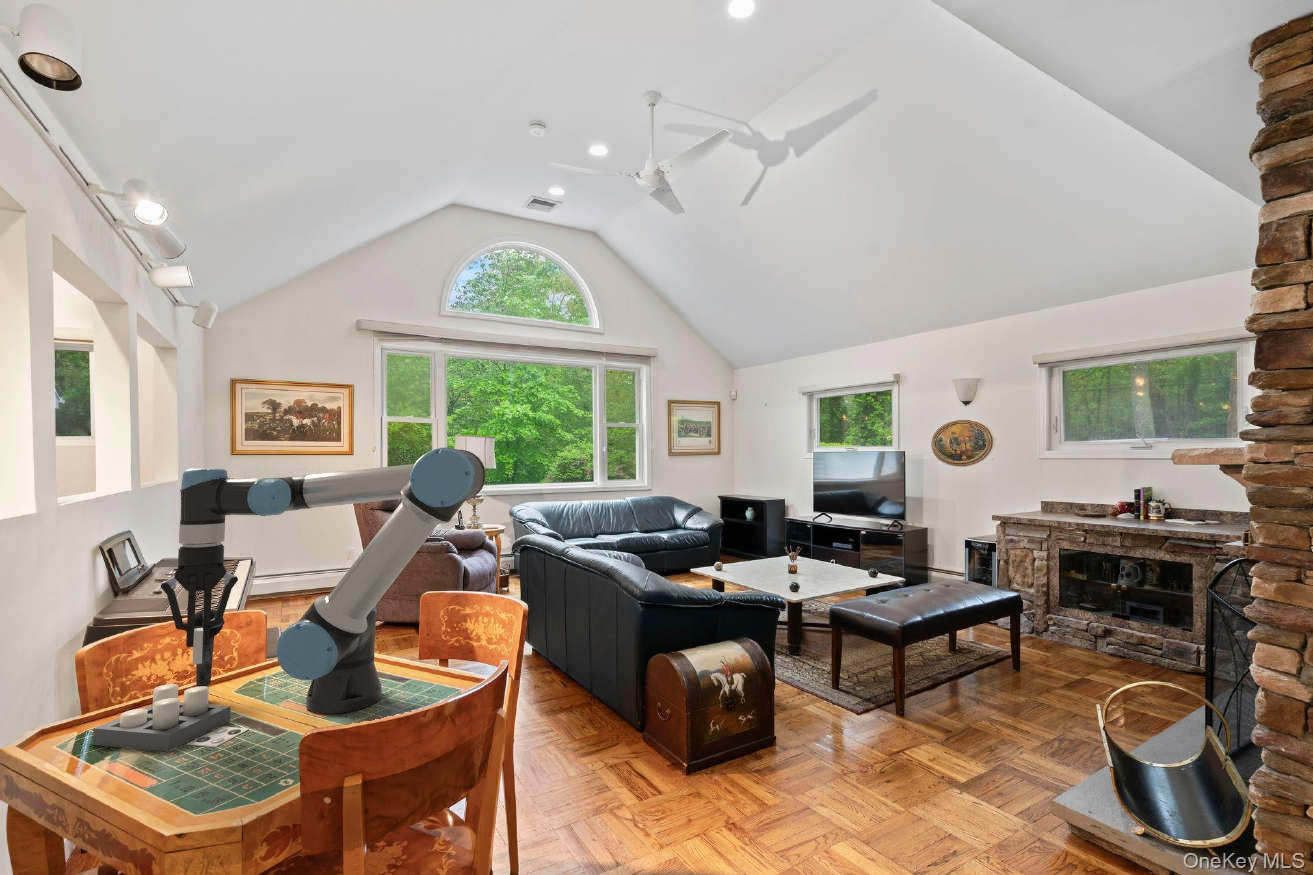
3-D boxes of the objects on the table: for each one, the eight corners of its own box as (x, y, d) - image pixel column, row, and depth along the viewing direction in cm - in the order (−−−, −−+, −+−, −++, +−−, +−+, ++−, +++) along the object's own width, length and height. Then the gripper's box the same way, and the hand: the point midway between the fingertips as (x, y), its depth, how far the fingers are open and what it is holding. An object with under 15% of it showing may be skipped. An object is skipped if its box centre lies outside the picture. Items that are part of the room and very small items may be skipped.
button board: (229, 720, 129) (230, 706, 129) (167, 751, 115) (168, 734, 115) (161, 715, 131) (162, 700, 132) (92, 744, 118) (93, 728, 118)
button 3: (184, 722, 121) (185, 698, 122) (165, 730, 117) (166, 706, 118) (165, 720, 122) (167, 697, 122) (146, 729, 118) (147, 704, 118)
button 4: (212, 709, 128) (213, 686, 128) (195, 717, 124) (196, 693, 124) (195, 707, 129) (196, 685, 129) (177, 715, 125) (179, 692, 125)
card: (249, 729, 125) (249, 727, 125) (215, 747, 117) (215, 745, 117) (222, 727, 126) (222, 725, 126) (187, 744, 118) (187, 743, 118)
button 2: (182, 707, 129) (183, 684, 129) (164, 714, 125) (165, 691, 125) (165, 705, 130) (166, 683, 130) (147, 713, 126) (148, 690, 126)
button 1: (151, 732, 122) (152, 709, 123) (131, 741, 118) (133, 717, 119) (133, 731, 123) (135, 708, 123) (113, 740, 119) (114, 715, 119)
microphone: (215, 692, 145) (219, 604, 146) (225, 699, 141) (229, 609, 142) (179, 700, 140) (183, 609, 141) (188, 708, 135) (193, 614, 136)
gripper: (238, 540, 135) (234, 652, 133) (161, 544, 127) (156, 663, 126) (241, 544, 129) (237, 661, 127) (160, 548, 121) (155, 673, 120)
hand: (197, 662), depth 127 cm, fingers closed
